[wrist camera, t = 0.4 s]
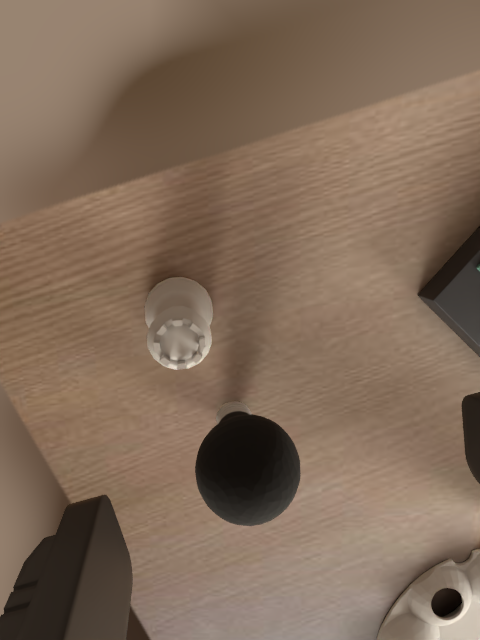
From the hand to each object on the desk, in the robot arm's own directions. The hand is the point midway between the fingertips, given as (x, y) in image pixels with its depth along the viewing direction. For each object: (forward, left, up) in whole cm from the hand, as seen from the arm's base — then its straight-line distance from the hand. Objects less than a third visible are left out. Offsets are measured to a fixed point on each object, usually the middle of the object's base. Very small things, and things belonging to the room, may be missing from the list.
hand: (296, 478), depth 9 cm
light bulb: (+6, -6, -20) cm, 22 cm away
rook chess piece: (-1, -2, -20) cm, 20 cm away
